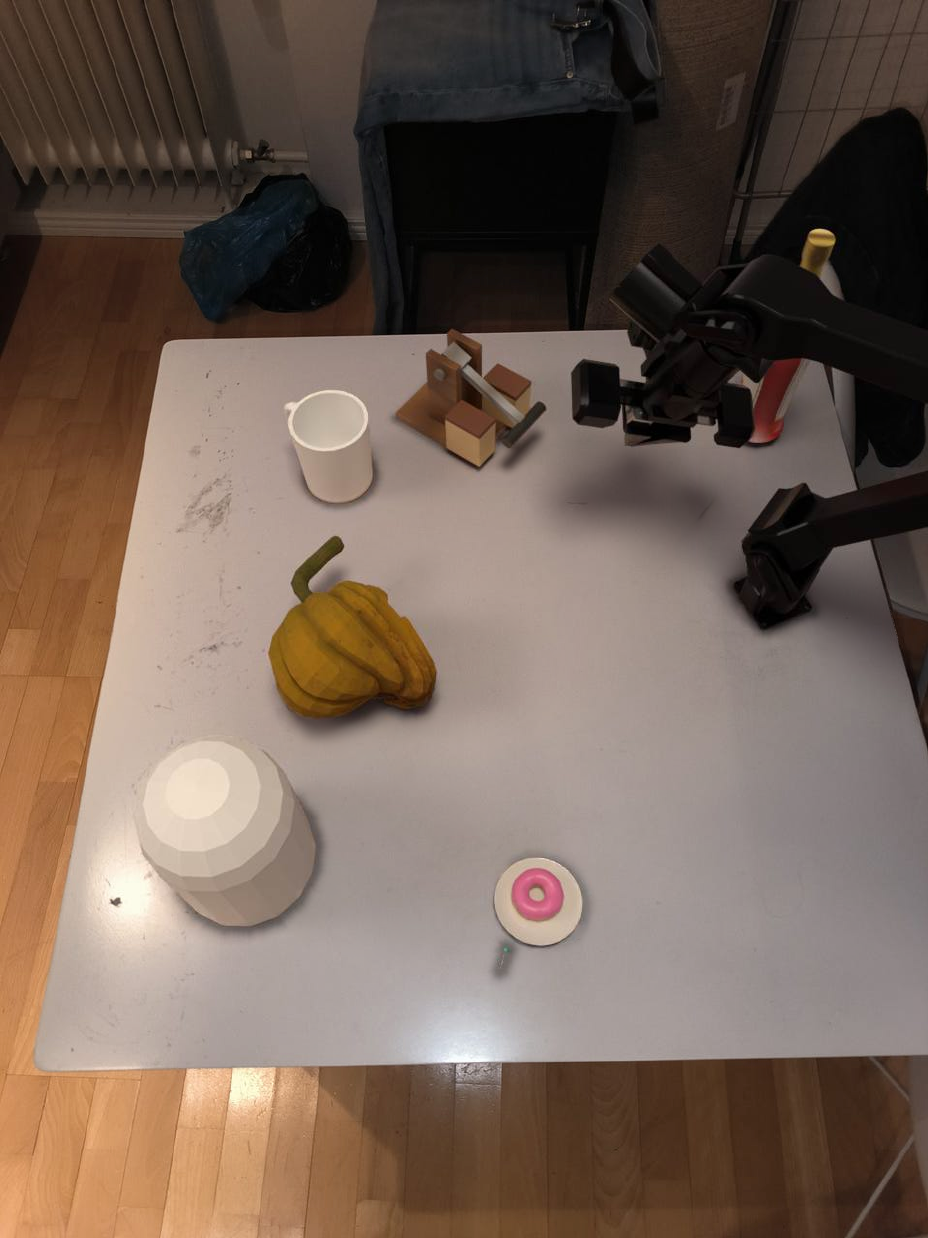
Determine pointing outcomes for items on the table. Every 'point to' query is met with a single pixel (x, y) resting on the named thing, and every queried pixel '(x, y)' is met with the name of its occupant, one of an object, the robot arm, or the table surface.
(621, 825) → the table surface
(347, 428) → the mug
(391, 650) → the pumpkin
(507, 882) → the donut on plate
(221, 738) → the container
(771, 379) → the liquor
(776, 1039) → the table surface
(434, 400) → the slicer
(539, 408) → the blade lever
